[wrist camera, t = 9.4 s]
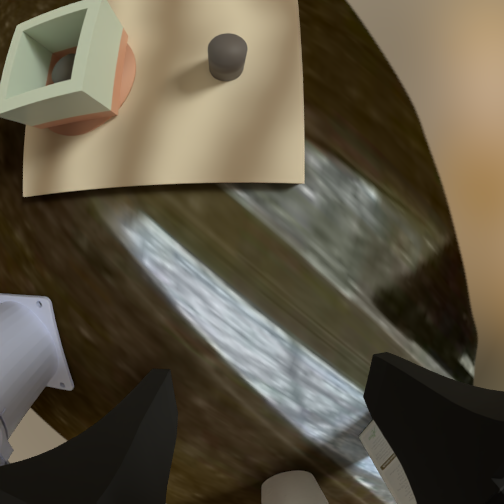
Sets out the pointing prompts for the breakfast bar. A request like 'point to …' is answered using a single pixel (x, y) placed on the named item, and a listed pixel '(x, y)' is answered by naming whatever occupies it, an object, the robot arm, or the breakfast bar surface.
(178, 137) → the pin board
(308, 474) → the dixie cup
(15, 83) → the sleeve
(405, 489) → the syrup box
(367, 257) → the breakfast bar surface
